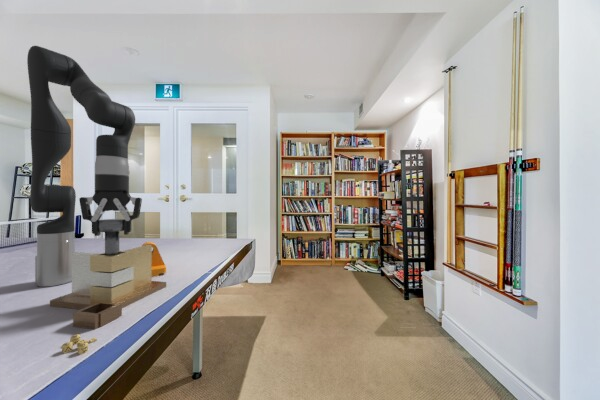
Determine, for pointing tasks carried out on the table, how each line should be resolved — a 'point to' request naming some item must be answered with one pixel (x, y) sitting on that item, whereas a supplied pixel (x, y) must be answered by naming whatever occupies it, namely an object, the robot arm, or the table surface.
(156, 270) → the bracket
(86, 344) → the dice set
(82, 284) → the hinge leaf
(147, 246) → the hinge base
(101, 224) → the hinge pin
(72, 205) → the robot arm
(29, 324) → the table surface
